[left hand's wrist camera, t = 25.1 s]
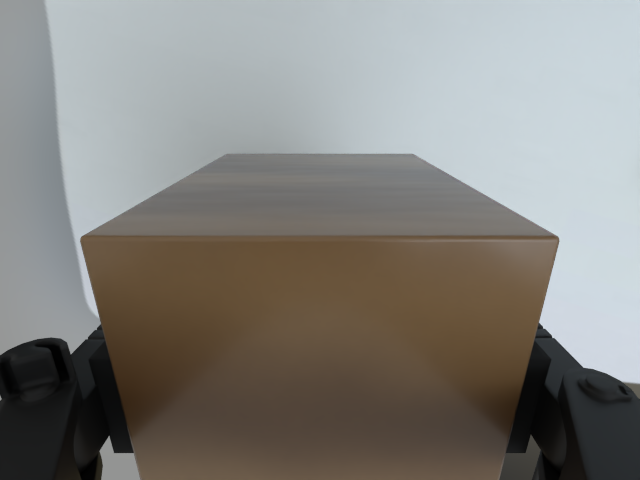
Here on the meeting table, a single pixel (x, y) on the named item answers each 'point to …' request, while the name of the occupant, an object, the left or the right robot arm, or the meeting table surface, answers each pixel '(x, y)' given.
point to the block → (319, 320)
